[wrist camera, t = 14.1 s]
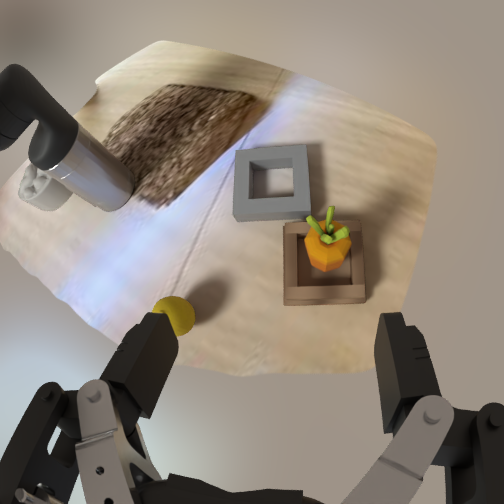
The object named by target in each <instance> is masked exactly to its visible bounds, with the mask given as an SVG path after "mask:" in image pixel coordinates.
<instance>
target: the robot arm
mask: <svg viewBox="0 0 504 504" xmlns="http://www.w3.org/2000/svg"><path fill="white" fill-rule="evenodd" d="M35 119H36V120H38V121H39V124H38V127H37V129H36V131H35V133H34V135H33V137H32V140H31V143H30V146H29V152H28V155H29V160H30V161H31V163H32V164H33V165H34V166H36V167H37V168H39V169H40V170H42V171H43V172H45V173H46V174H48V175H49V176H51V177H52V178H54V179H56V180H57V181H59V182H60V183H62V184H63V185H65V188H67V189H68V190H70V191H71V192H73V193H75V194H76V195H78V196H79V197H81V198H82V199H84V200H86V201H87V202H89V203H90V204H92V205H93V206H95V207H96V206H97V207H99V208H100V209H102V210H104V211H108V212H110V211H114V210H117V209H119V208H120V207H121V206H123V205H124V204H125V203H126V202H127V200H128V199H129V198H130V196H131V194H132V192H133V189H134V184H135V179H134V175H133V173H132V172H131V171H130V170H129V169H128V168H127V167H126V166H125V165H124V164H123V163H122V162H121V161H119V160H118V159H117V158H116V157H115V156H114V155H113V154H112V153H111V152H110V151H109V150H107V149H106V148H105V147H104V146H103V145H102V144H101V143H100V142H99V141H98V140H97V139H95V138H94V137H93V136H92V135H91V134H90V133H89V132H88V131H87V130H86V129H85V128H83V127H82V126H81V125H80V124H79V123H78V122H77V121H76V120H75V119H74V118H73V117H72V116H71V115H70V114H68V112H67V111H66V110H65V109H64V108H63V107H62V106H61V105H60V104H59V103H58V102H57V101H56V100H55V99H54V98H53V97H52V96H51V95H50V94H49V93H48V92H47V91H46V90H45V88H44V87H43V86H42V85H41V84H40V83H39V82H38V80H37V79H36V78H35V77H34V76H33V75H32V74H31V73H30V72H29V71H28V70H26V69H25V68H24V67H22V66H21V65H18V64H11V65H9V66H7V67H6V69H4V70H3V71H2V72H1V73H0V151H2V150H5V149H7V148H8V147H9V146H11V145H12V144H13V143H14V142H15V141H16V140H17V139H18V137H19V136H20V135H21V134H22V133H23V132H24V131H25V129H26V128H27V127H28V126H29V125H30V124H31V123H32V122H33V121H34V120H35ZM178 348H179V346H178V340H177V337H176V335H175V332H174V330H173V327H172V325H171V322H170V320H169V317H168V315H167V314H166V313H152V312H148V313H147V314H146V315H145V316H144V318H143V319H142V321H141V323H140V324H136V325H135V326H134V327H133V328H131V329H130V330H129V331H128V332H127V333H126V335H125V337H124V338H123V340H122V343H121V344H120V345H119V346H118V348H117V351H115V353H114V355H113V356H112V358H111V360H110V361H109V363H108V365H107V366H106V368H105V370H104V372H103V373H102V375H101V377H100V379H99V380H91V381H89V382H87V383H85V384H84V385H83V386H82V387H81V388H80V389H79V390H70V391H64V390H63V389H62V388H61V387H60V386H59V384H58V383H56V382H48V383H45V384H44V385H42V386H41V387H40V388H39V389H38V390H37V392H36V394H35V395H34V397H33V399H32V401H31V403H30V404H29V406H28V408H27V410H26V411H25V413H24V415H23V417H22V419H21V421H20V423H19V424H18V426H17V428H16V430H15V432H14V434H13V436H12V438H11V440H10V442H9V444H8V446H7V448H6V450H5V452H4V454H3V456H2V459H1V461H0V504H68V501H69V499H70V496H71V493H72V490H73V488H74V485H75V482H76V480H77V477H78V474H79V473H80V477H81V482H82V487H83V491H84V495H85V499H86V503H87V504H324V503H322V502H320V501H317V500H315V499H312V498H309V497H305V496H303V490H278V489H263V490H256V491H247V492H236V493H232V492H227V491H225V490H222V489H220V488H218V487H215V486H213V485H210V484H208V483H206V482H204V481H201V480H199V479H194V478H189V477H184V476H180V475H175V474H172V473H170V474H169V476H168V479H166V480H162V478H161V476H160V475H159V473H158V471H157V470H156V468H155V467H154V465H153V464H152V462H151V460H150V457H149V454H148V451H147V448H146V445H145V442H144V440H143V437H142V433H141V430H140V427H139V425H138V423H137V421H138V419H139V417H143V418H148V419H150V418H151V415H152V413H153V410H154V408H155V406H156V403H157V401H158V398H159V396H160V394H161V391H162V389H163V387H164V384H165V382H166V380H167V377H168V375H169V373H170V370H171V368H172V366H173V363H174V361H175V359H176V357H177V354H178ZM374 358H375V365H376V371H377V378H378V386H379V393H380V401H381V410H382V419H383V429H384V434H386V433H393V440H392V441H391V443H390V444H389V445H388V447H387V448H386V450H385V451H384V452H383V454H382V455H381V456H380V457H379V458H378V460H377V461H376V462H375V463H374V465H373V466H372V467H371V468H370V470H369V471H368V472H367V474H366V475H365V476H364V477H363V478H362V480H361V481H360V482H359V484H358V485H357V486H356V487H355V488H354V489H353V490H352V492H351V493H350V494H349V495H348V496H347V497H346V498H345V499H344V501H343V502H342V503H341V504H409V502H410V501H411V499H412V498H413V496H414V495H415V494H416V492H417V490H418V489H419V487H420V485H421V484H422V481H423V476H424V474H425V472H426V471H427V469H428V467H429V466H430V465H438V466H445V483H446V504H504V406H503V405H502V404H500V403H489V404H486V405H485V406H483V407H482V408H481V410H480V411H470V410H461V409H457V408H454V407H452V406H451V404H450V403H449V402H448V401H447V400H446V399H445V398H443V397H442V395H441V393H440V389H439V386H438V382H437V378H436V375H435V372H434V368H433V364H432V361H431V359H430V355H429V351H428V349H427V345H426V342H425V339H424V336H423V334H421V332H420V331H419V330H418V329H417V328H416V326H406V325H405V321H404V318H403V315H402V313H401V312H394V313H381V314H380V318H379V323H378V329H377V334H376V339H375V345H374ZM56 426H58V427H59V428H60V429H61V433H60V435H59V437H58V439H57V441H56V443H55V446H54V448H53V450H52V452H51V454H50V455H49V453H48V450H47V446H48V443H49V441H50V439H51V437H52V435H53V432H54V430H55V428H56Z"/></svg>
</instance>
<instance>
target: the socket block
mask: <svg viewBox="0 0 504 504" xmlns="http://www.w3.org/2000/svg"><path fill="white" fill-rule="evenodd" d="M280 168H293V184H294V197H276V198H260V199H253V171H254V170H266V169H280ZM310 215H311V203H310V186H309V172H308V159H307V147H306V145H291V146H277V147H265V148H254V149H244V150H236V154H235V173H234V193H233V216H234V218H235V219H236V220H237V222H248V221H267V220H287V219H306V218H307V217H308V216H310Z"/></svg>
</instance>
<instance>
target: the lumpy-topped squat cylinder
mask: <svg viewBox="0 0 504 504" xmlns="http://www.w3.org/2000/svg"><path fill="white" fill-rule="evenodd" d="M72 193H73V192H71V191H70V190H68V189H67V188H65V185H63V184H62V183H60V182H59V181H57V180H56V179H54V178H52V177H51V176H49V175H48V174H46V173H45V172H43V171H42V170H40V169H39V168H37V167H36V166H34V165H33V164H32V163H30V165H29V166H28V167H27V168H26V170H25V173H24V176H23V179H22V181H21V183H20V188H19V191H18V195H19V198H20V199H21V200H23V201H25V202H27V203H29V204H31V205H33V206H34V207H36V208H38V209H40V210H43V211H55V210H57V209H58V208H59V207H61V206H62V205H63V204H64V203H65V202H66V201H67V200H68V199H69V198H70V196H71V195H72Z"/></svg>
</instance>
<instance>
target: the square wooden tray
mask: <svg viewBox="0 0 504 504" xmlns="http://www.w3.org/2000/svg"><path fill="white" fill-rule="evenodd" d="M317 222H320V221H317ZM336 222H338V223H340V224H342V225H344V226H347V227H348V228H349V230H350V232H349V237H350V240H351V243H352V245H351V247H350V249H349V251H348V253H347V255H346V257H345V259H344V261H343V263H342V265H341V266H340V267H339V268H337V269H334V270H331V271H327V272H323V271H321V270H319V269H317V268H315V267H314V266H312V265H311V262H310V259H309V256H308V253H307V249H306V246H305V241H304V240H305V238H306V236H307V234H308V232H309V230H310V228H311V226H310V225H309V224H308V223H307V222H293V223H285V226H283V259H284V306H295V305H334V304H359V303H365V302H366V291H365V271H364V255H363V242H362V231H361V223H360V220H345V221H336Z"/></svg>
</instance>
